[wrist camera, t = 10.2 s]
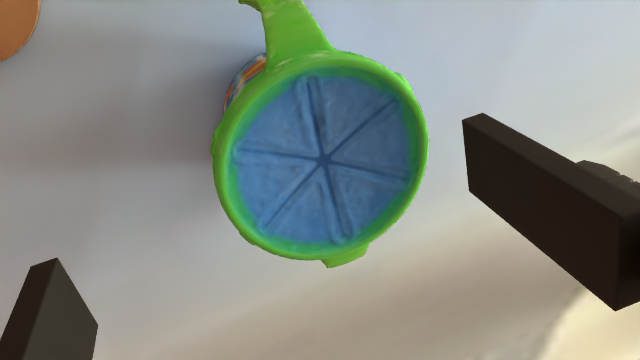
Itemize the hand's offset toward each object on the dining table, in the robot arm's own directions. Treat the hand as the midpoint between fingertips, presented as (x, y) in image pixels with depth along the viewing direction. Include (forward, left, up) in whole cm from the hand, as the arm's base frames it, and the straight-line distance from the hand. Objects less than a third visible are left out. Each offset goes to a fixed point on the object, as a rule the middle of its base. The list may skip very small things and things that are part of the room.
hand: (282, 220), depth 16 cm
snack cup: (-3, +2, -17) cm, 18 cm away
